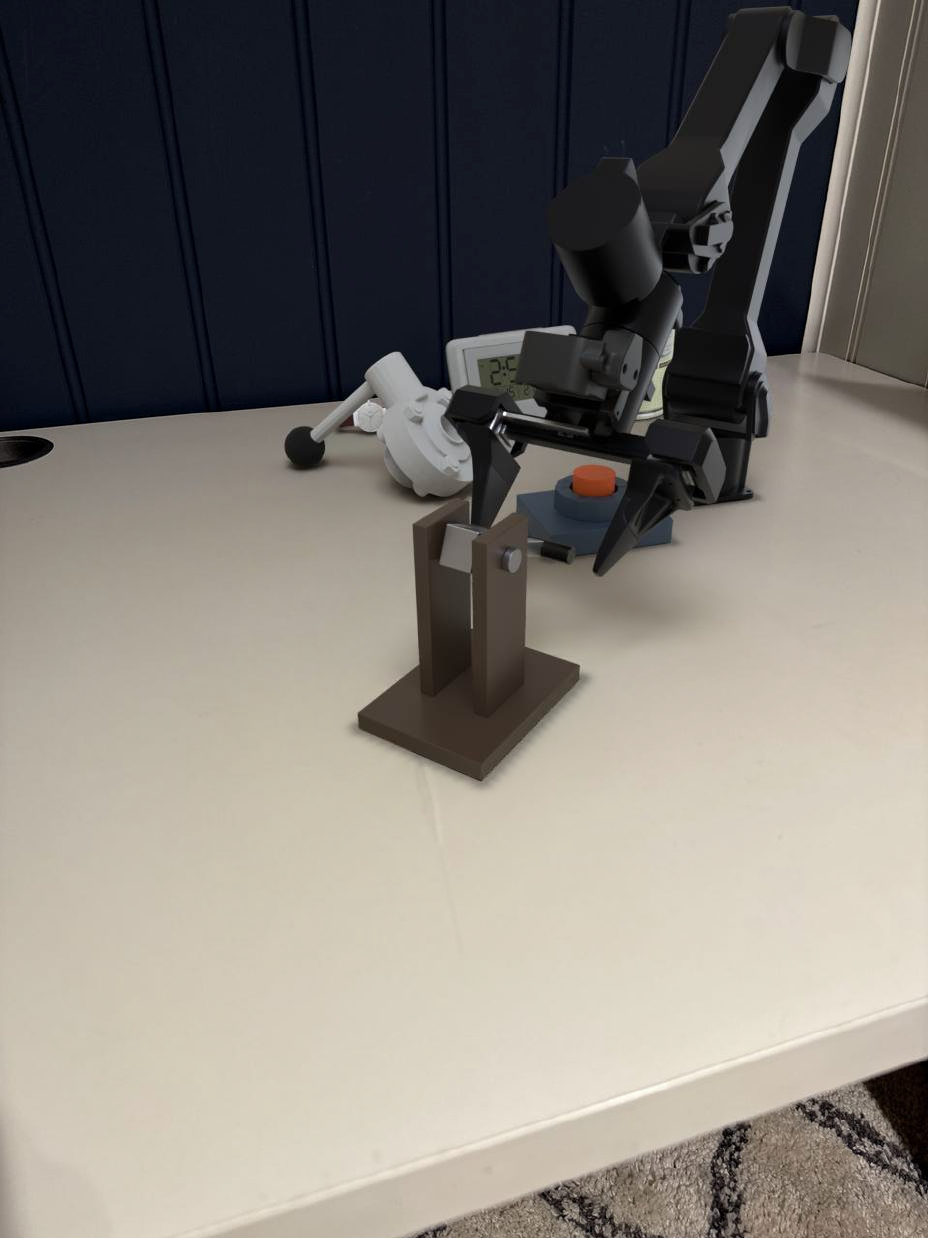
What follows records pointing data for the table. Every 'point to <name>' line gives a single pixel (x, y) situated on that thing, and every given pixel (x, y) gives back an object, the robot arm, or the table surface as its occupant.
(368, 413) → the watch
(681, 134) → the robot arm
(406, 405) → the mechanical valve
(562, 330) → the digital clock
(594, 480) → the button
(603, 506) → the button housing
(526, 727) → the bracket
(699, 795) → the table surface
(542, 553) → the tap lever
